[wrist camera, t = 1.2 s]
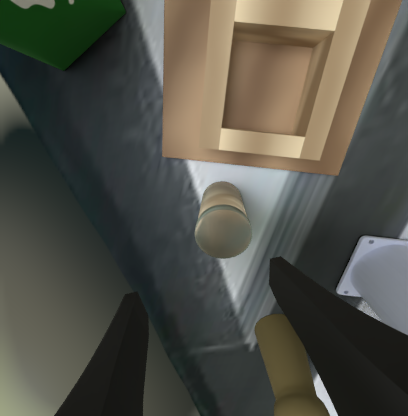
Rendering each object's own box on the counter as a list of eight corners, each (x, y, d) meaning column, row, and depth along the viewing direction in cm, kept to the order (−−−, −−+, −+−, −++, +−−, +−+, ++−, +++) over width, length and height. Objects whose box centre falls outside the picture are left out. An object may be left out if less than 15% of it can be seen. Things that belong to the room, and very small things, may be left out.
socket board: (390, 7, 14) (449, -32, 11) (332, 173, 19) (359, 185, 15) (168, -13, 15) (151, -58, 11) (164, 154, 19) (152, 162, 16)
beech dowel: (244, 183, 20) (257, 212, 14) (238, 220, 22) (246, 261, 15) (203, 178, 20) (197, 205, 14) (200, 215, 22) (192, 255, 15)
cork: (257, 312, 27) (281, 427, 17) (304, 315, 27) (356, 434, 16) (251, 342, 29) (269, 458, 19) (294, 345, 29) (335, 465, 19)
